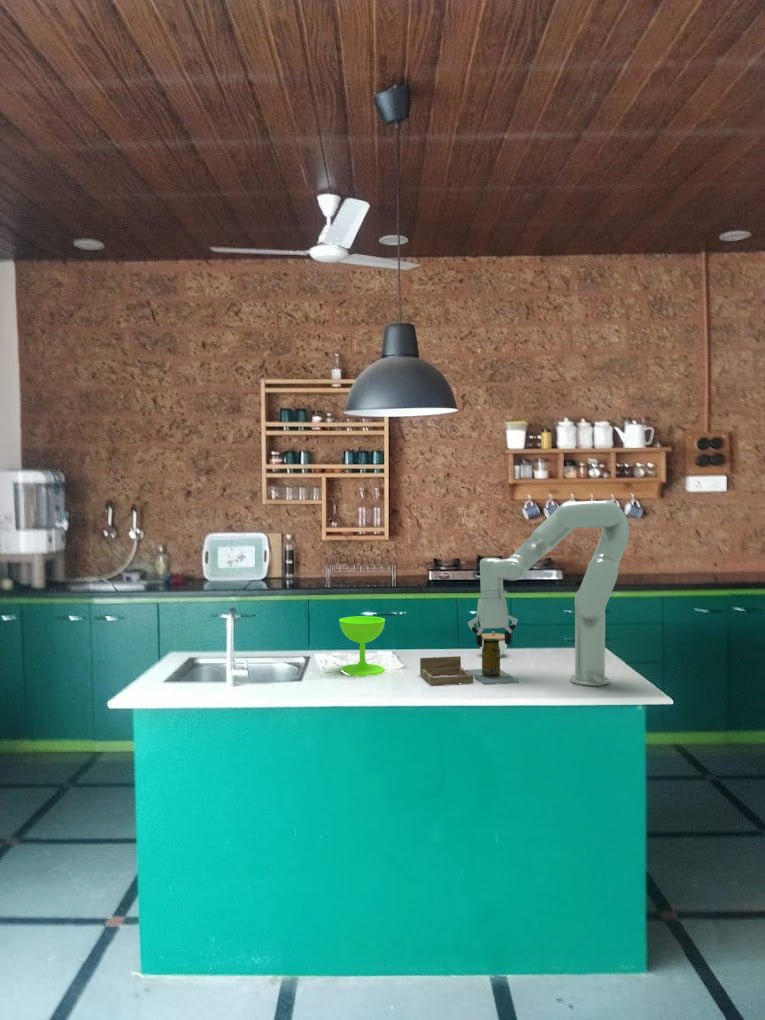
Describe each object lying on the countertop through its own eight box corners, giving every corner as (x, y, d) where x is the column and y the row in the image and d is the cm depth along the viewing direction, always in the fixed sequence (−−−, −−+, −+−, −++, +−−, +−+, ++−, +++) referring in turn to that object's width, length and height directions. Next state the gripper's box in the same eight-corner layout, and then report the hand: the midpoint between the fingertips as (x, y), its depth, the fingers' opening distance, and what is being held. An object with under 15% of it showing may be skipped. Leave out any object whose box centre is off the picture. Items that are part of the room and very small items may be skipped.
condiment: (491, 671, 291) (491, 637, 291) (509, 676, 285) (509, 640, 284) (475, 674, 287) (475, 639, 286) (494, 679, 280) (494, 643, 280)
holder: (473, 683, 276) (473, 665, 276) (431, 685, 273) (431, 667, 273) (459, 673, 291) (459, 656, 291) (420, 675, 288) (420, 657, 288)
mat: (518, 682, 277) (518, 681, 277) (483, 684, 275) (483, 682, 275) (498, 669, 297) (498, 668, 297) (465, 671, 294) (465, 669, 294)
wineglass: (377, 677, 285) (377, 624, 285) (332, 674, 290) (332, 622, 289) (390, 667, 300) (390, 617, 300) (348, 665, 305) (348, 615, 305)
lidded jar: (500, 652, 327) (500, 628, 327) (512, 658, 317) (512, 633, 316) (474, 654, 324) (474, 629, 324) (485, 659, 314) (485, 634, 314)
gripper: (512, 592, 290) (514, 641, 291) (464, 595, 287) (465, 645, 287) (520, 594, 283) (522, 645, 283) (470, 597, 279) (472, 649, 280)
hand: (493, 645), depth 285 cm, fingers open, 9 cm apart
